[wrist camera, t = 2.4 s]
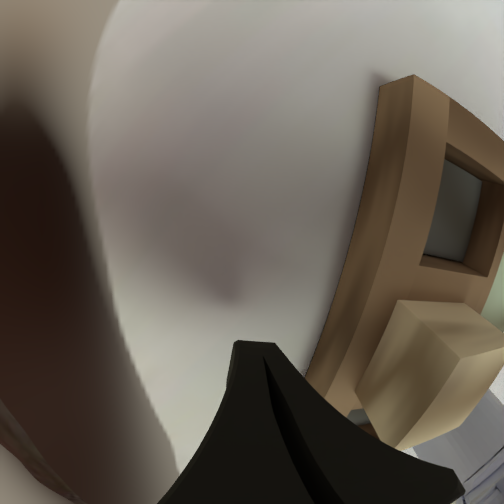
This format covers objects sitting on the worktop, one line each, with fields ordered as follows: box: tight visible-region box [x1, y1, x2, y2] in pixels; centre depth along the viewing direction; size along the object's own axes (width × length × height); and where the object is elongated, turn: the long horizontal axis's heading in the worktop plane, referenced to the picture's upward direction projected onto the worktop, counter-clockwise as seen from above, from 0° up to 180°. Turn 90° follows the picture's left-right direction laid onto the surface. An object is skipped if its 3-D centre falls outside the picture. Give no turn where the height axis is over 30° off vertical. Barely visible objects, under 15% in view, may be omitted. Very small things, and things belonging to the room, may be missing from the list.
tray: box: [305, 75, 504, 441], centre depth 12 cm, size 22×14×2 cm, turn 170°
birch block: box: [354, 300, 504, 451], centre depth 9 cm, size 5×5×4 cm
